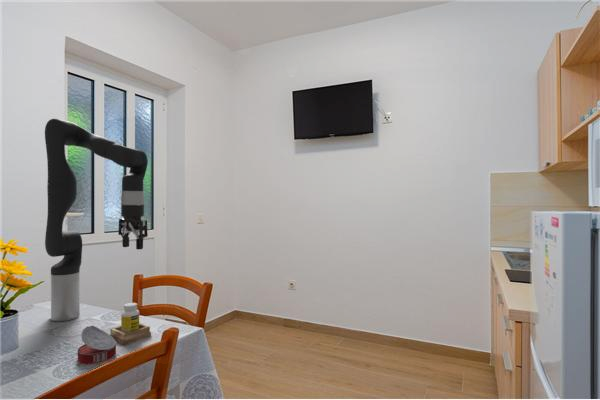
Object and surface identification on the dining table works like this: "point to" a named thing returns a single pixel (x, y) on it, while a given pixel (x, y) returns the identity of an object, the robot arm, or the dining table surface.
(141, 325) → the wooden box
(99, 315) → the dining table surface
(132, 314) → the supplement bottle
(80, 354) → the canned food
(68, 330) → the dining table surface
